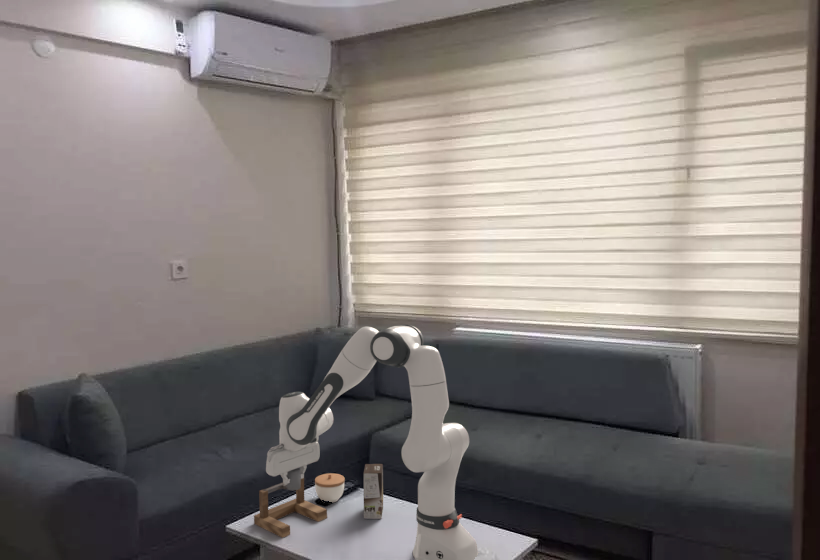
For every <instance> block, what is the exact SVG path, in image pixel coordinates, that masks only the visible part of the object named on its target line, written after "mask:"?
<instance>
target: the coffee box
mask: <svg viewBox="0 0 820 560" xmlns="http://www.w3.org/2000/svg"><path fill="white" fill-rule="evenodd" d="M383 510H384V464H383V463H370V464H369V463H365V464H364V469H363V519H364V520H365V519H368V520H371V519H373V520H374V519H375V520H381V519H382V517H383Z"/></svg>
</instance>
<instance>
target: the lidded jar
mask: <svg viewBox="0 0 820 560" xmlns="http://www.w3.org/2000/svg"><path fill="white" fill-rule="evenodd" d="M345 481H346V479H345V477H344V475H341V474H340V473H331V472H330V473H329V472H328V473H323V474H320V475H317V476H316V477H315V479H314V487H315V492H316V495H317V497H318V498H319V499H320V500H321V501H322V500H324V501H329V502H332V504H333V503H336V502H338V501H339V499H340V498H341V497H342V496H343V494H344V492H345Z"/></svg>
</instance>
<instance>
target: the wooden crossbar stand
mask: <svg viewBox="0 0 820 560" xmlns="http://www.w3.org/2000/svg"><path fill="white" fill-rule="evenodd" d="M281 489H283V490H288V489H287V485H285V484H284V483H283V482H280V483H278V484H275V485H271V486H270V487H268V488H263V489H261V490H258V493H259V494H258V496H259V497H258V498H259V499H258V500H259V502H258V503H259V513H257V514H254V515H253V525H256V526H257V527H259V528H262V529H264V530H266V531H267V532H270V533H272V534H274V535H275V536H278V537H280V538H282V539H283V537H284V538H286V537H288V536H290V535H291V525H289V524H287V523H285V522H283V521H281V520H279V519H282V518H283V517H287V516H288V515H291V514H294V513H296V514H298V515H301V516H304V517H306V518H308V519H310V520H313V521H315V522H321V521H323V520H326V519H328V509H327V508H325V507H322V506H320V505H317V504H315V503H312V502H310V501H308V500H305V477H304V478H302V479H301V488H300V489H298V490H295V498H294V499H293V498H292V499H291V500H289V501H286V502H283V503H281V504H279V505H277V506H274V507H271V508H269V494H270V493H274V492H276V491H279V490H281Z"/></svg>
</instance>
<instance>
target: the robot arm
mask: <svg viewBox="0 0 820 560" xmlns="http://www.w3.org/2000/svg"><path fill="white" fill-rule="evenodd" d="M424 339H425V338H424V335H423V334H422V332H421V331H420V329H419V328H417V327H416V326H414V325H411V324H402V325H393V326H390V327H388V328H384V329H381V330H378V329H377V328H374V327H372V326H368V325H367V326H362V327H361V328H359V329H358V330H357V331H356V332H355V333H353V335H352V336H351V337H350V338H349V340H348V341H347V343H346V344H345V345H344V346H343V348H342V349H341V351H340V352H339V354H338V356H337V357H336V359H335V360H334V362H333V364H332V366H331V368H330V369H329V371H328V372H327V373H326V376H324V378H323V380H322V382H321V383H320V385H319V386H318V387H317V388H316V390H315V391H314V392H313V393H312V394H311V397H310V398H309V397H308V396H307V395H306V393H304V392H303V391H292V392H288V393H286V394H283V396H281V397H280V400H279V405H278V406H279V409H278V421H279V425H280V427H279V431H278V434H279V438H278V439H279V444H277V445H276V446H272V447H270V448H269V450H268V451H267V453H266V461H265V463H266V464H265V472H266V474H268V475H269V476H270V477H277V476H279V475H280V476H281V478H282V483H284V484H285V485H287V484H289V483H290V478H287V476H286V475H287V472H288V471H291V470H294V469H296V468H299V469H300V477H301V479H302V478H304V479H305V472H306V470H307V468H308V467H307V466H308V465H311V464H312V463H316V462H318V461H319V459H320V451H321V450H320V444H319V436H321V435H323V433H326V431H328V430H329V429H330V428H332V426H333V425H334V421H335V418H334V413H333V411H332V409H331V408H330V407H331V405H332V404H333V402H335V400H336V399H337V398H339V397H340V396H341V395H343V394H344V393H346V392H347V391H349V390H351V389H352V388H354V387H355V386H357V385H359V384H360V383H361V382H362V381H363V380H364V379H365V378H366V377H367V376H368V374H369V373H371V370H372V369H373V368H374V366H375V365H376V363H377V362H379V363H380V364H381V365H382V364H383V365H385V366H386V365H387V366H391V367H396V368H398V369H399V368H402V367H404V368H405V369H406V371H407V376H408V382H409V383H408V384H409V392H410V397H411V398H410V399H411V411H412V412H411V413H412V414H411V422H410V427H409V430H408V431H409V432H408V435H407V438H406V439H405V441H404V443H403V445H402V447H401V453H400V454H401V460H402V461H403V463H404V465H405V467H406V468H407V469H408V470H410V471H411V472H413V473H423V474H422V476H421V477H420V478H419V480H418V483H417V506H416V519H415V521H416V523H417V527H416V536H415V541H414V545H413V546H414V547H413V549H412V556H413V558H414V560H474V559H475V557H477V555H478V553H479V552H478V551H479V550H478V544H477V540H476V539H475V537H473V536H472V535H471V533H470V532H469V531H468V530H467V529H466V528H465V527H464V526H463V525H462V523H461V522H460V519H462V518H463V514H462V513H460V514H459V515H458V512H457V510H456V507H455V501H456V499H455V497H456V496H455V493H456V492H455V491H456V483H457V482H456V481H457V477H458V473H459V469H460V465H461V462H462V458H463V457H464V455H465V452H467V449H468V447H469V445H470V436H469V433H468V431H467V429H466V428H465V426H463V425H462V424H460V423H458V422H446V423H444V420H445V416H446V414H447V412H448V410H449V407H450V400H449V393H448V384H447V377H446V371H445V368H444V364H443V361H442V360H443V359H442V357H441V354H440V351H439V350H438V349H437V348H436V347H434V346H432V345H431V346H430V345H424V343H425V342H424V341H425V340H424Z"/></svg>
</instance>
